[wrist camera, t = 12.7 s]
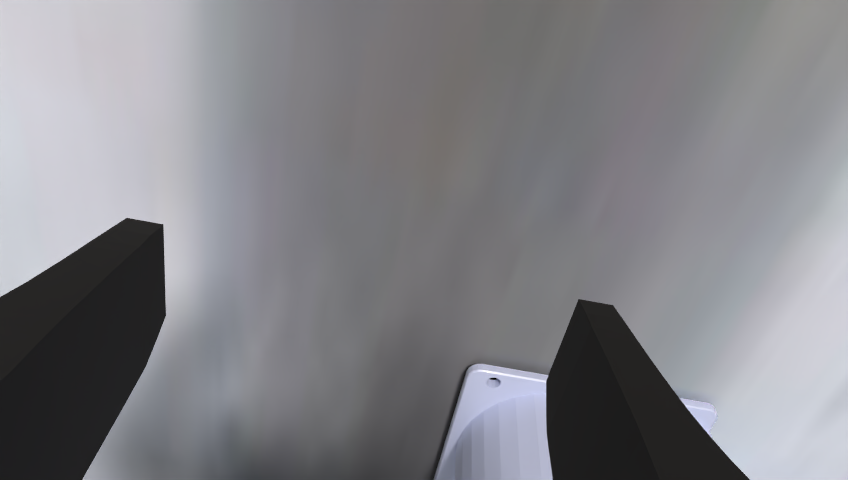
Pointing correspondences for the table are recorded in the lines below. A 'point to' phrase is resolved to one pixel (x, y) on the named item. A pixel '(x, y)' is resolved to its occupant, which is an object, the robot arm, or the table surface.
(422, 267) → the table surface
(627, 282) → the table surface
